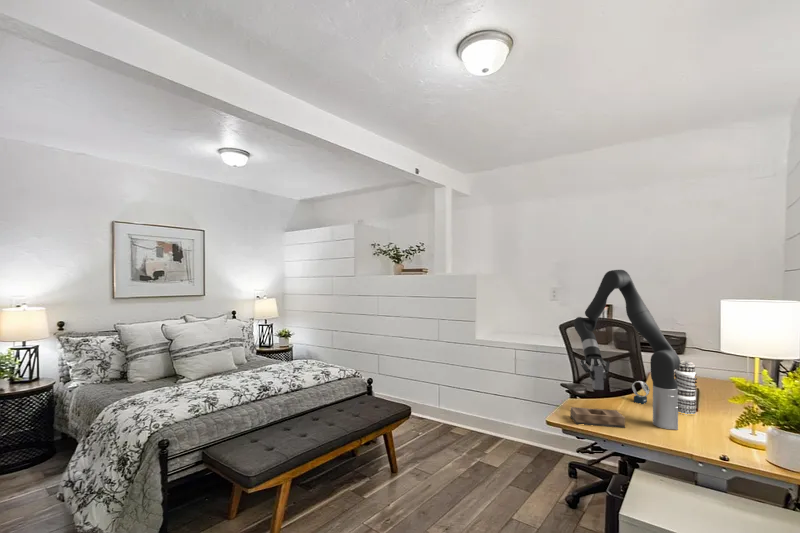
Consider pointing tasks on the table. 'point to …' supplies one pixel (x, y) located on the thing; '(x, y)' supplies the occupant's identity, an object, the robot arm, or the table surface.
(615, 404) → the table surface
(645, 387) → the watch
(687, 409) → the model tower building
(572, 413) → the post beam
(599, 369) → the grey rectangular block
